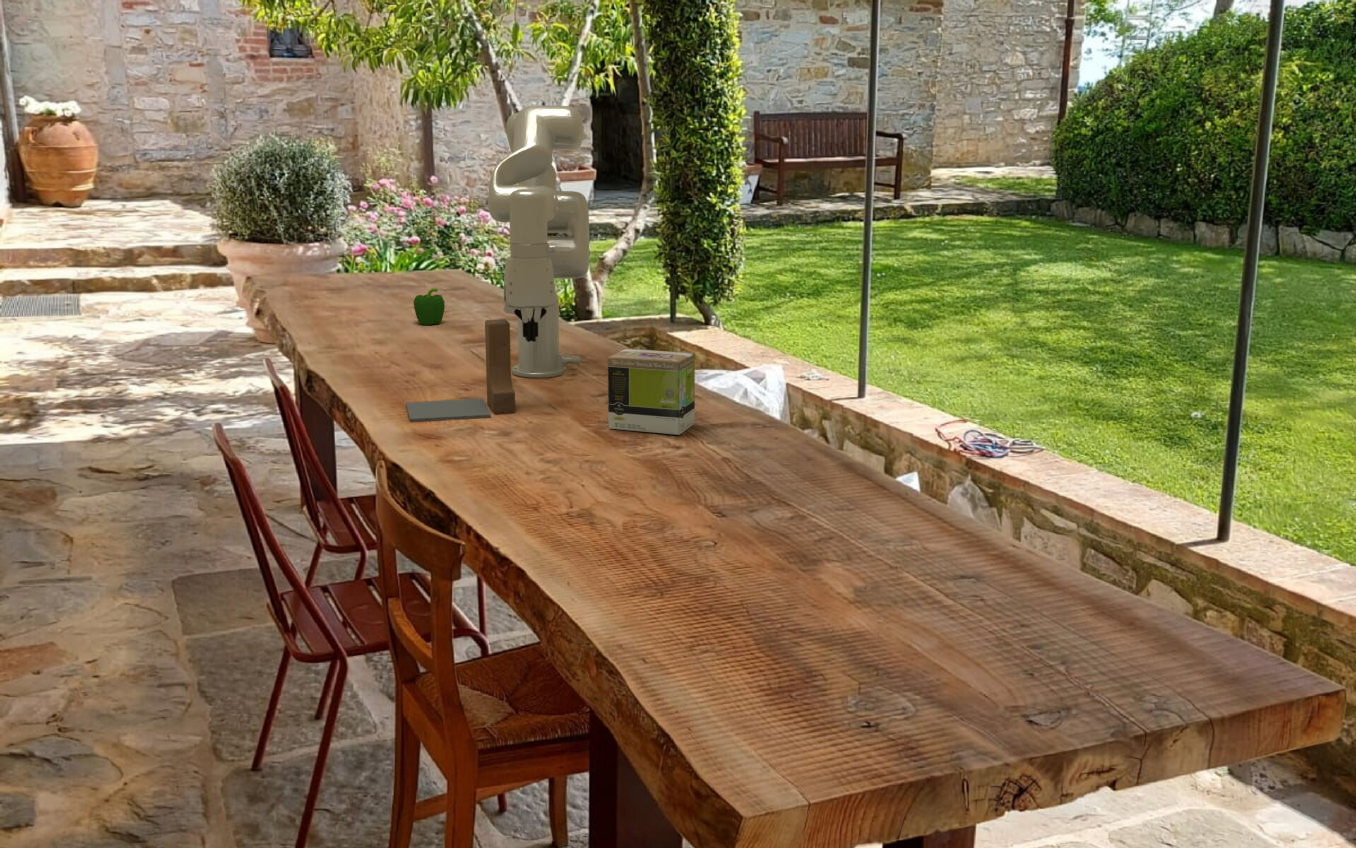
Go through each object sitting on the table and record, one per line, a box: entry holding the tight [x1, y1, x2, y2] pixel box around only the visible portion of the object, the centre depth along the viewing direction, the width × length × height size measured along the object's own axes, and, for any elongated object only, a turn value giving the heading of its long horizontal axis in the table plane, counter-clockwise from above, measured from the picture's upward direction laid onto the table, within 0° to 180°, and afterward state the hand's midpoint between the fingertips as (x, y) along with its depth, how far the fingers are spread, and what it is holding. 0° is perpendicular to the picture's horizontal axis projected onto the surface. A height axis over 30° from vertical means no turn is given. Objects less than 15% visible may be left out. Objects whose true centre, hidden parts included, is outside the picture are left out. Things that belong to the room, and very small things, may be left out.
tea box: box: [607, 348, 696, 436], centre depth 253 cm, size 15×10×15 cm, turn 71°
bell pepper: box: [413, 287, 446, 326], centre depth 358 cm, size 8×8×10 cm
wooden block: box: [484, 318, 516, 415], centre depth 265 cm, size 9×4×18 cm, turn 17°
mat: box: [405, 398, 492, 423], centre depth 265 cm, size 16×14×1 cm
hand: (530, 340), depth 266 cm, fingers closed
